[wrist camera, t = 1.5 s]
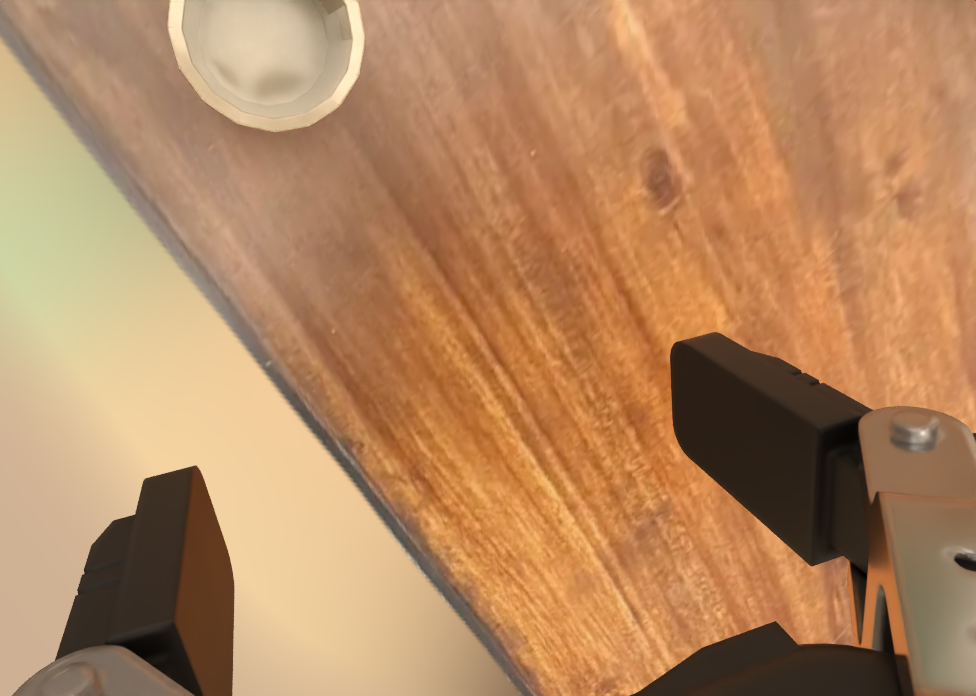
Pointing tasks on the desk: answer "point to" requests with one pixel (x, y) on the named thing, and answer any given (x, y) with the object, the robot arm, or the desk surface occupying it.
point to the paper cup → (269, 57)
